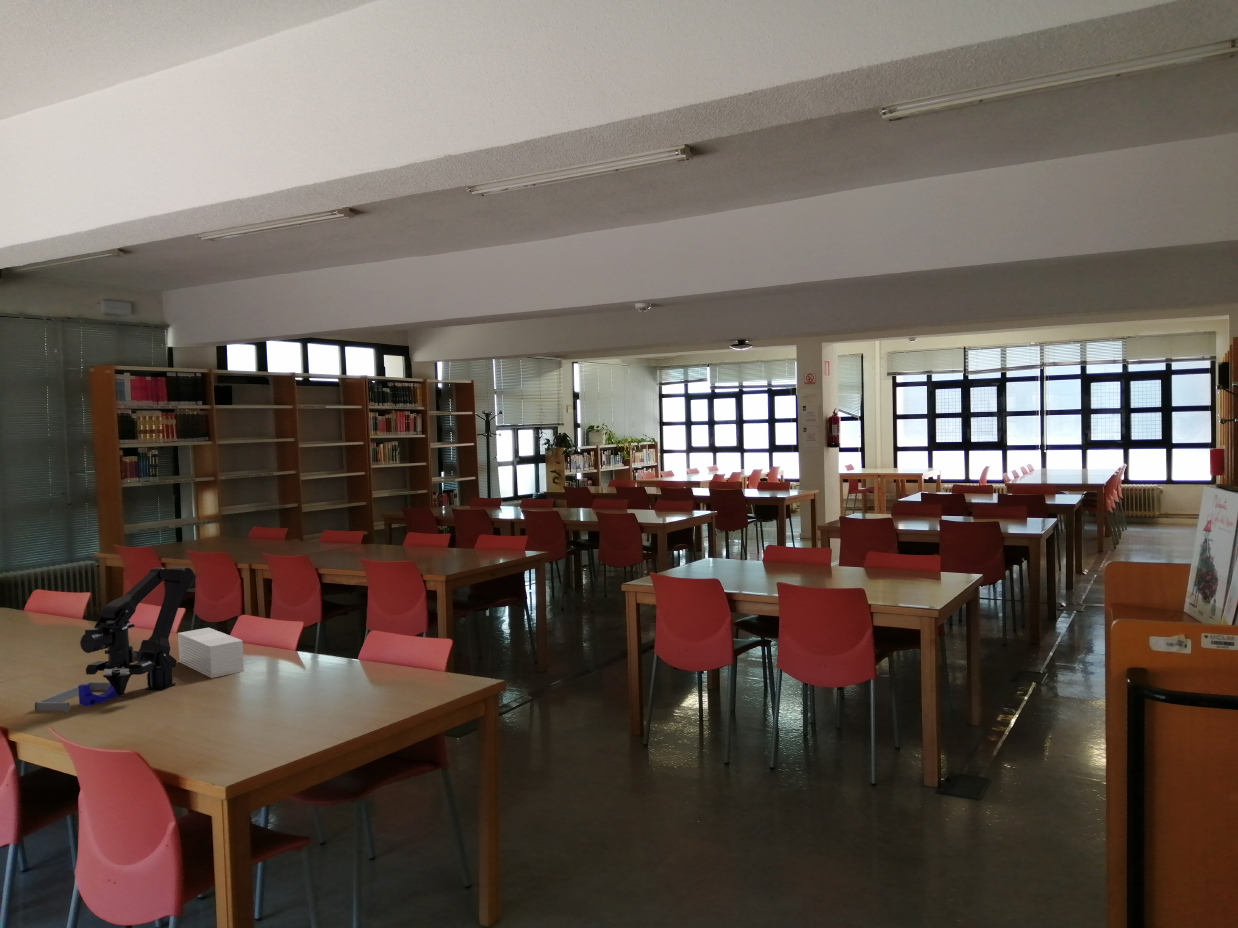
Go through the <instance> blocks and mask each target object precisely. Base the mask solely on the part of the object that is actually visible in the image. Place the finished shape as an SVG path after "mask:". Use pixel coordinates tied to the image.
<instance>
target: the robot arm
mask: <svg viewBox="0 0 1238 928" xmlns="http://www.w3.org/2000/svg"><path fill="white" fill-rule="evenodd" d="M195 577H196V576H195V573H194V571H193V569H192V568H190V567H177V566H176V567H175V566H174V567H170V568H165V567H153V568H151V569H150V570H149V571H148V572H147V574H146V575H145V576H144V577H142V578H141V579H140V580H139V581H138V582H137V583H136V584H135V585H133V587H132V588H130V589H129V590H128V591H127V592H126V593H125V594H124V595H122V596H121V597H118V598H116V599H113V600H112V601H110V602H109V603H107V604H105V606H104V607H102V610H101V614H100V616H99V618H98V619H97V621H96V623H95V625H94V628H88V629H85V630H84V634H83V635H82V636H81V638H80V641H79V643H80V648H81V650H82V651H83V652H84V653H86V654H91V653H95V652H98V651H102V650H104V655H107V660H97V661H95V662H91V663H89V664H87V665H86V667H85V675H87V676H88V675H96V674H97V673H98V672H99V671H101V672H102V671H103V672H104V674H103V675H102V677H103V678H105V679H106V680H107V682H110V684H111V685H112V686H113V688H114V689H115V691H116V692H117V694H118V695H119V696H118V697H122V696H124V695H125V692H126V688H127V685H128V684H129V680H130V678H131V676H133V675H134V676H135V675H136V676H137V675H140V676H141V675H144V674H146V679H147V686H146V687H145V690H150V691H151V690H160V691H161V690H166V689H169V688H170V687H173V686H174V685H177V683H176V682H175V681H173V668H176V665H177V659H176V658H175V657H174V656H172V655H170V652H171V644H170V641H169V640H170V639H169V637H170V636H171V635H170V634H171V632H172V629H173V627H174V626H173V625H174V623H175V620H176V616H177V613H178V610H179V606H180V604H181V601H182V599H183V596H184V595H185V594H186V592H188V591H189V590H190V588H191V586H192V585H193V582H194V580H195ZM162 582H164V583H163V584H164V589H165V595H164V597H163V601H162V603H161V607H160V609H159V612H158V616H157V619H156V621H155V624H154V628H153V630H152V633H151V636H150V637H149V638H148V639H142V641H141V643H140V648H139V649H138V650H134V646H133V645H130V640H129V639H130V638H129V637H130V636H129V629H131V628H135V624H133V623H132V622H130V620H131V618H132V617H133V616H134V614H135V613H136V610H137V607H138V605H139V604H140V603H141V602H142V601H143V600H145V599H146V598H147V596H148V595H150V594H151V593H152V592H153V591H154V590H155V589H156V588H157V587H158V586H159V585H160V584H161V583H162ZM105 649H106V650H105Z"/></svg>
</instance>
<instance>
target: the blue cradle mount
mask: <svg viewBox="0 0 1238 928" xmlns="http://www.w3.org/2000/svg"><path fill="white" fill-rule="evenodd" d="M77 686H78V687H79V695H78V702H79V705H80V706H84V707H91V706H94V705H97V704H98V705H99V704H101V703H104V702H108V701H109V700H110V699H114V698H117V697H120V696H119V695H118V694H117V692H116V691H115V689H114V688H113V686H112V685H110V687H109V688H108V690H104V692H102V693H100V694H97V693H96V694H95V693H93V692H92V690H90V687H89V685H86V684H85V683H83V684H79V685H77Z"/></svg>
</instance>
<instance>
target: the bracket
mask: <svg viewBox="0 0 1238 928" xmlns="http://www.w3.org/2000/svg"><path fill="white" fill-rule="evenodd" d="M84 684H86V685H89V687H90V690H91V691H106V690H108V688H109V687H110V685H111V684H110V682H109V681H88V682H85V683H84ZM77 696H79V687H78V685H77V686H75V687H72V688H70V689H67V690H64V691H62V692H60V693H59V692H58V693H57V694H55V695H52V696H49V697H46V698H44V699H40V700H39V701H36V702H34V711H35V712H55V713H56V712H63V713H65V712H66V713H67V712H70V711H71V708H70V702H66V700H69V699H72V698H74V697H77ZM64 701H65V702H64Z"/></svg>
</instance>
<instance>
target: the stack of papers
mask: <svg viewBox="0 0 1238 928" xmlns="http://www.w3.org/2000/svg"><path fill="white" fill-rule="evenodd" d="M177 640H178V657H179V658H178V661H179V663H180V664H182V665H184V666H186V667H189V668H191V669H193V670H195V671H196V672H199V673H201V674H202V675H204V676H207V677H209V678H211V679H213V678H218V677H222V676H223V677H224V676H228V675H233V674H237V673H243V672H244V671H245V664H244V645H243V639H240V638H237V637H236V636H232V635H229V634H227V633H224V632H222V631H218V630H217V629H214V628H211V627H204V628H199V629H193V630H187V631H183V632H177Z"/></svg>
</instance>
